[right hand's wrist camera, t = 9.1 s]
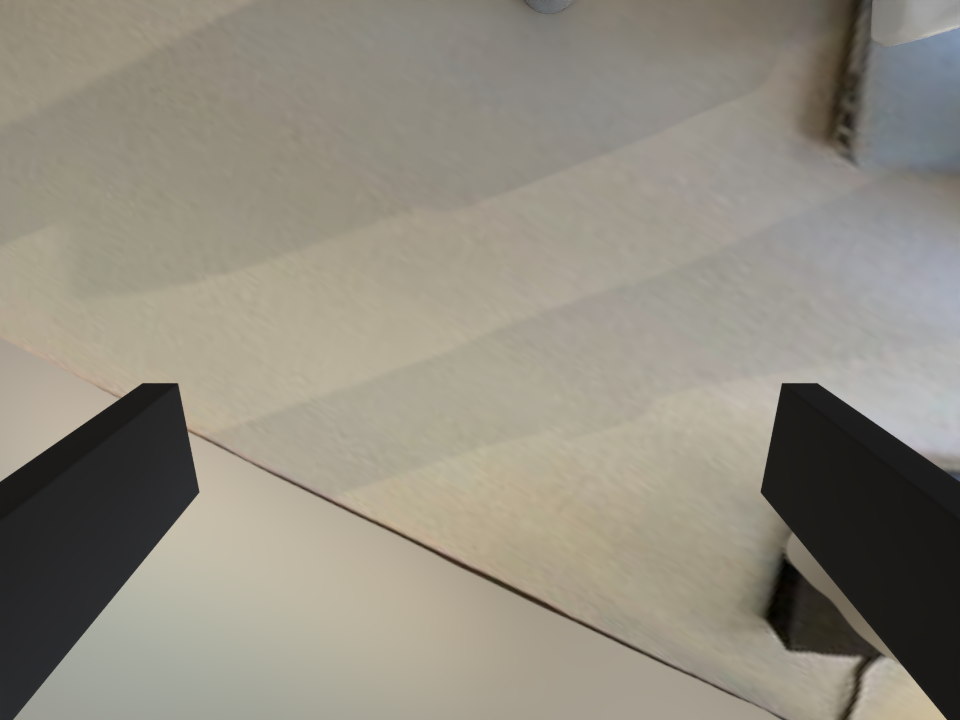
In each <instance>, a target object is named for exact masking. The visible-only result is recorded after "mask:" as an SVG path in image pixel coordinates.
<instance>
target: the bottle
mask: <svg viewBox="0 0 960 720" xmlns="http://www.w3.org/2000/svg"><path fill="white" fill-rule="evenodd" d="M525 1H526V2H527V3H528V5H529V6H530V7H531V8H533V9H534V10H536V11H538V12H541V13H545V14H551V13H556V12H559V11H561V10H563V9H564V8H566V7H567V6H568V5H569V4H570V3H571V2H572V0H525Z"/></svg>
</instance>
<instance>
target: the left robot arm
mask: <svg viewBox="0 0 960 720" xmlns="http://www.w3.org/2000/svg"><path fill="white" fill-rule="evenodd" d="M957 28H960V0H873V1H872V22H871V38H872V40H873V41H875V42H876V43H878V44H879V45H881V46H882V47H891V46H895V45H900V44H904V43H908V42H912V41H916V40H920V39H923V38H927V37H931V36H934V35H938V34H941V33H944V32H948V31H951V30H954V29H957Z"/></svg>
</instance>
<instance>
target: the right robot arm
mask: <svg viewBox="0 0 960 720" xmlns="http://www.w3.org/2000/svg"><path fill="white" fill-rule="evenodd" d="M198 493H199V488H198V483H197V477H196V473H195V468H194V462H193V457H192V452H191V447H190V442H189V437H188V432H187V427H186V422H185V417H184V412H183V406H182V401H181V396H180V391H179V386H178V383H142V384H141V385H140V386H138V387H137V388H135V389H134V390H132V391H131V392H129V393H128V394H127V395H125V396H124V397H122V398H121V399H119V400H118V401H116V402H115V403H114V404H112V405H111V406H109V407H108V408H106V409H105V410H103V411H102V412H101V413H99V414H98V415H96V416H95V417H93V418H92V419H90V420H89V421H88V422H86V423H85V424H83V425H82V426H80V427H79V428H77V429H76V430H74V431H73V432H72V433H70V434H69V435H67V436H66V437H64V438H63V439H62V440H60V441H59V442H57V443H56V444H54V445H53V446H51V447H50V448H48V449H47V450H46V451H44V452H43V453H41V454H40V455H38V456H37V457H35V458H34V459H33V460H31V461H30V462H28V463H27V464H25V465H24V466H22V467H21V468H20V469H18V470H17V471H15V472H14V473H12V474H11V475H9V476H8V477H7V478H5V479H4V480H2V481H1V482H0V720H13V719H14V718H15V717H16V715H17V714H18V713H19V712H20V711H21V709H22V708H23V707H24V706H25V704H26V703H27V702H28V701H29V700H30V698H31V697H32V696H33V695H34V694H35V692H36V691H37V690H38V689H39V687H40V686H41V685H42V684H43V683H44V681H45V680H46V679H47V678H48V676H49V675H50V674H51V673H52V672H53V670H54V669H55V668H56V667H57V665H58V664H59V663H60V662H61V661H62V659H63V658H64V657H65V656H66V654H67V653H68V652H69V651H70V650H71V648H72V647H73V646H74V645H75V643H76V642H77V641H78V640H79V639H80V637H81V636H82V635H83V634H84V633H85V631H86V630H87V629H88V628H89V626H90V625H91V624H92V623H93V622H94V620H95V619H96V618H97V617H98V615H99V614H100V613H101V612H102V610H103V609H104V608H105V607H106V606H107V604H108V603H109V602H110V601H111V600H112V598H113V597H114V596H115V595H116V593H117V592H118V591H119V590H120V589H121V587H122V586H123V585H124V584H125V582H126V581H127V580H128V579H129V578H130V576H131V575H132V574H133V573H134V571H135V570H136V569H137V568H138V567H139V565H140V564H141V563H142V562H143V561H144V559H145V558H146V557H147V556H148V554H149V553H150V552H151V551H152V550H153V548H154V547H155V546H156V545H157V543H158V542H159V541H160V540H161V538H162V537H163V536H164V535H165V534H166V532H167V531H168V530H169V529H170V528H171V526H172V525H173V524H174V523H175V521H176V520H177V519H178V518H179V517H180V515H181V514H182V513H183V512H184V511H185V509H186V508H187V507H188V506H189V504H190V503H191V502H192V501H193V500H194V498H195V497H196V496H197V495H198ZM761 493H762V495H763V496H764V497H765V498H766V500H767V501H768V502H769V503H770V504H771V506H772V507H773V508H774V509H775V511H776V512H777V513H778V514H779V515H780V517H781V518H782V519H783V520H784V521H785V523H786V524H787V525H788V526H789V528H790V529H791V530H792V531H793V532H794V534H795V535H796V536H797V537H798V539H799V540H800V541H801V542H802V543H803V545H804V546H805V547H806V548H807V550H808V551H809V552H810V553H811V554H812V556H813V557H814V558H815V559H816V561H817V562H818V563H819V564H820V565H821V567H822V568H823V569H824V570H825V572H826V573H827V574H828V575H829V576H830V578H831V579H832V580H833V581H834V582H835V584H836V585H837V586H838V587H839V589H840V590H841V591H842V592H843V593H844V595H845V596H846V597H847V598H848V600H849V601H850V602H851V603H852V604H853V606H854V607H855V608H856V609H857V611H858V612H859V613H860V614H861V615H862V617H863V618H864V619H865V620H866V621H867V623H868V624H869V625H870V626H871V628H872V629H873V630H874V631H875V633H876V634H877V635H878V636H879V637H880V639H881V640H882V641H883V642H884V643H885V645H886V646H887V647H888V648H889V650H890V651H891V652H892V653H893V654H894V656H895V657H896V658H897V659H898V660H899V662H900V663H901V664H902V665H903V667H904V668H905V669H906V670H907V672H908V673H909V674H910V675H911V676H912V678H913V679H914V680H915V681H916V683H917V684H918V685H919V686H920V687H921V689H922V690H923V691H924V692H925V694H926V695H927V696H928V697H929V698H930V700H931V701H932V702H933V703H934V704H935V706H936V707H937V708H938V709H939V711H940V712H941V713H942V714H943V715H944V717H945V718H946V719H947V720H960V482H959V481H958V480H956V479H955V478H953V477H952V476H951V475H949V474H948V473H946V472H945V471H943V470H942V469H940V468H939V467H938V466H936V465H935V464H933V463H932V462H930V461H929V460H927V459H926V458H925V457H923V456H922V455H920V454H919V453H917V452H916V451H914V450H913V449H912V448H910V447H909V446H907V445H906V444H904V443H903V442H901V441H900V440H899V439H897V438H896V437H894V436H893V435H891V434H890V433H888V432H887V431H886V430H884V429H883V428H881V427H880V426H878V425H877V424H875V423H874V422H872V421H871V420H870V419H868V418H867V417H865V416H864V415H862V414H861V413H859V412H858V411H857V410H855V409H854V408H852V407H851V406H849V405H848V404H846V403H845V402H844V401H842V400H841V399H839V398H838V397H836V396H835V395H833V394H832V393H831V392H829V391H828V390H826V389H825V388H823V387H822V386H820V385H819V384H818V383H782V386H781V391H780V396H779V401H778V406H777V412H776V417H775V422H774V427H773V432H772V437H771V442H770V447H769V452H768V457H767V462H766V467H765V472H764V477H763V483H762V488H761Z"/></svg>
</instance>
